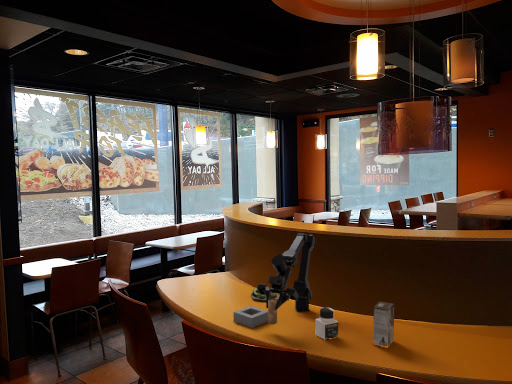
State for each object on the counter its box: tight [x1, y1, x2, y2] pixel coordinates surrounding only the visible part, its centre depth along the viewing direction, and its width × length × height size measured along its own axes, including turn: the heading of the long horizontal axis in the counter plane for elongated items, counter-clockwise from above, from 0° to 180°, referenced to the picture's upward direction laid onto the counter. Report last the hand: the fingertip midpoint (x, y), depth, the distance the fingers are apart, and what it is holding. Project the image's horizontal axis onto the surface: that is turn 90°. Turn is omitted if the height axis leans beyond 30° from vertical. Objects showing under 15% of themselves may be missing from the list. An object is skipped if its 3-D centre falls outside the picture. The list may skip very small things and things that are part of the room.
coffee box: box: [372, 301, 395, 346], centre depth 163 cm, size 9×6×16 cm
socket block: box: [233, 305, 268, 329], centre depth 188 cm, size 12×12×4 cm
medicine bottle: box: [314, 307, 339, 341], centre depth 170 cm, size 7×7×12 cm
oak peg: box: [267, 298, 278, 325], centre depth 174 cm, size 4×4×10 cm
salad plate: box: [250, 287, 279, 303], centre depth 226 cm, size 19×18×5 cm
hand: (271, 308), depth 173 cm, fingers closed on oak peg, 4 cm apart
